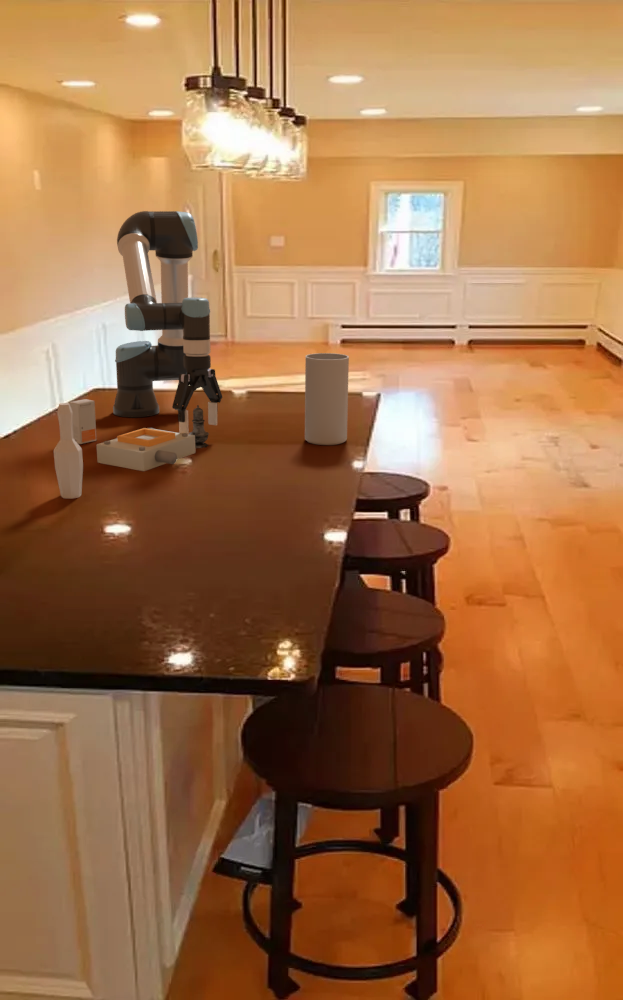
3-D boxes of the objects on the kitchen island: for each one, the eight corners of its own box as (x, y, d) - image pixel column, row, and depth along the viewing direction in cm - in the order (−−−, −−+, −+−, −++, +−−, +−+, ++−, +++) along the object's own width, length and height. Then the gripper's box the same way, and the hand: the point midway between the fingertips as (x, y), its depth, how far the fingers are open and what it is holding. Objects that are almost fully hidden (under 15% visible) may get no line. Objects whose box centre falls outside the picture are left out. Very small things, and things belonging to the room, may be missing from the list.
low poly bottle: (57, 500, 203) (49, 407, 196) (57, 492, 209) (49, 401, 202) (85, 498, 205) (78, 406, 198) (84, 490, 211) (78, 400, 204)
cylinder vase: (300, 444, 256) (300, 358, 248) (310, 434, 268) (311, 352, 260) (342, 447, 253) (344, 360, 245) (350, 437, 265) (352, 354, 257)
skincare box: (81, 444, 252) (78, 403, 249) (71, 442, 255) (68, 401, 251) (97, 440, 257) (95, 400, 253) (88, 438, 259) (85, 398, 256)
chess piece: (205, 448, 250) (204, 407, 246) (186, 447, 251) (184, 406, 247) (211, 443, 255) (210, 403, 251) (192, 442, 256) (191, 402, 252)
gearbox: (150, 445, 253) (149, 423, 251) (210, 455, 243) (209, 432, 241) (97, 462, 235) (96, 438, 233) (159, 474, 225) (158, 449, 223)
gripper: (212, 348, 257) (213, 419, 263) (157, 358, 236) (160, 435, 242) (233, 350, 254) (234, 422, 260) (179, 360, 233) (182, 438, 239)
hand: (198, 428), depth 251 cm, fingers open, 13 cm apart
